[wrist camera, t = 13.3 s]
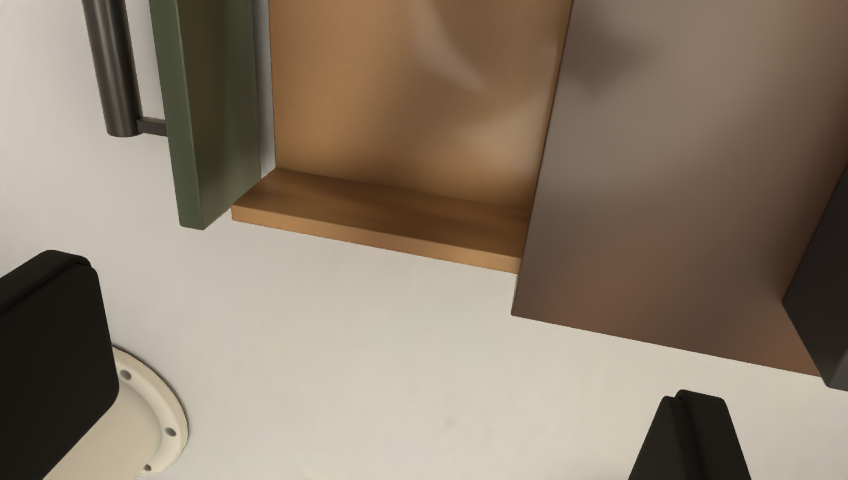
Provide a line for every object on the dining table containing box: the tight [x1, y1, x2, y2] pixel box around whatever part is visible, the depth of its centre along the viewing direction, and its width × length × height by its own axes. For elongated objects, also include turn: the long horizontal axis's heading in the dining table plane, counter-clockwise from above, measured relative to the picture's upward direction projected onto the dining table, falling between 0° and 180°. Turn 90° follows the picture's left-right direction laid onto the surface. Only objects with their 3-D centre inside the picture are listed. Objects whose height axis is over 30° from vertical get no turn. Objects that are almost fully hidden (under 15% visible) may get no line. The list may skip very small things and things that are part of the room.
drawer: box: [82, 0, 572, 274], centre depth 25 cm, size 21×13×6 cm, turn 85°
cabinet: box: [511, 0, 848, 377], centre depth 22 cm, size 18×15×8 cm
